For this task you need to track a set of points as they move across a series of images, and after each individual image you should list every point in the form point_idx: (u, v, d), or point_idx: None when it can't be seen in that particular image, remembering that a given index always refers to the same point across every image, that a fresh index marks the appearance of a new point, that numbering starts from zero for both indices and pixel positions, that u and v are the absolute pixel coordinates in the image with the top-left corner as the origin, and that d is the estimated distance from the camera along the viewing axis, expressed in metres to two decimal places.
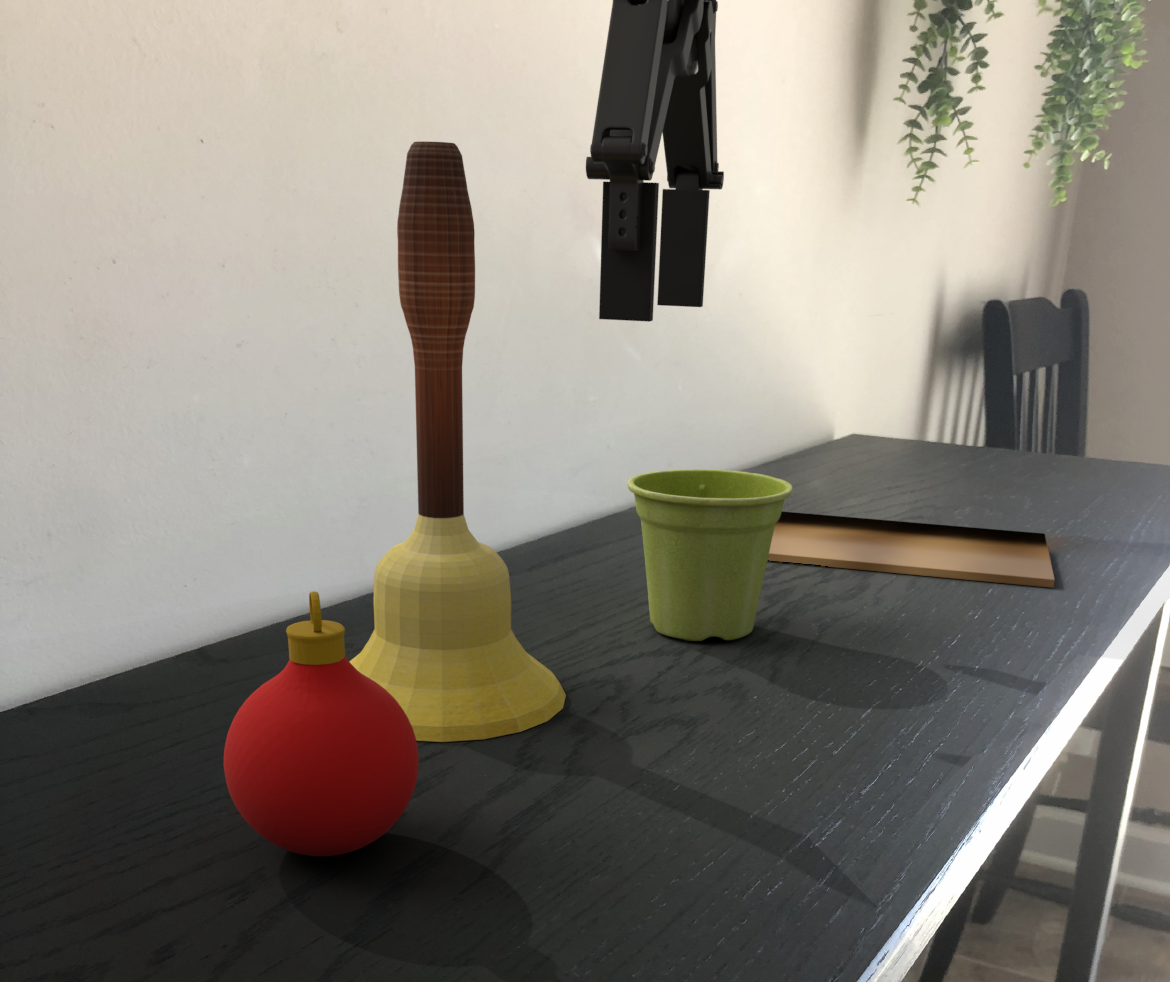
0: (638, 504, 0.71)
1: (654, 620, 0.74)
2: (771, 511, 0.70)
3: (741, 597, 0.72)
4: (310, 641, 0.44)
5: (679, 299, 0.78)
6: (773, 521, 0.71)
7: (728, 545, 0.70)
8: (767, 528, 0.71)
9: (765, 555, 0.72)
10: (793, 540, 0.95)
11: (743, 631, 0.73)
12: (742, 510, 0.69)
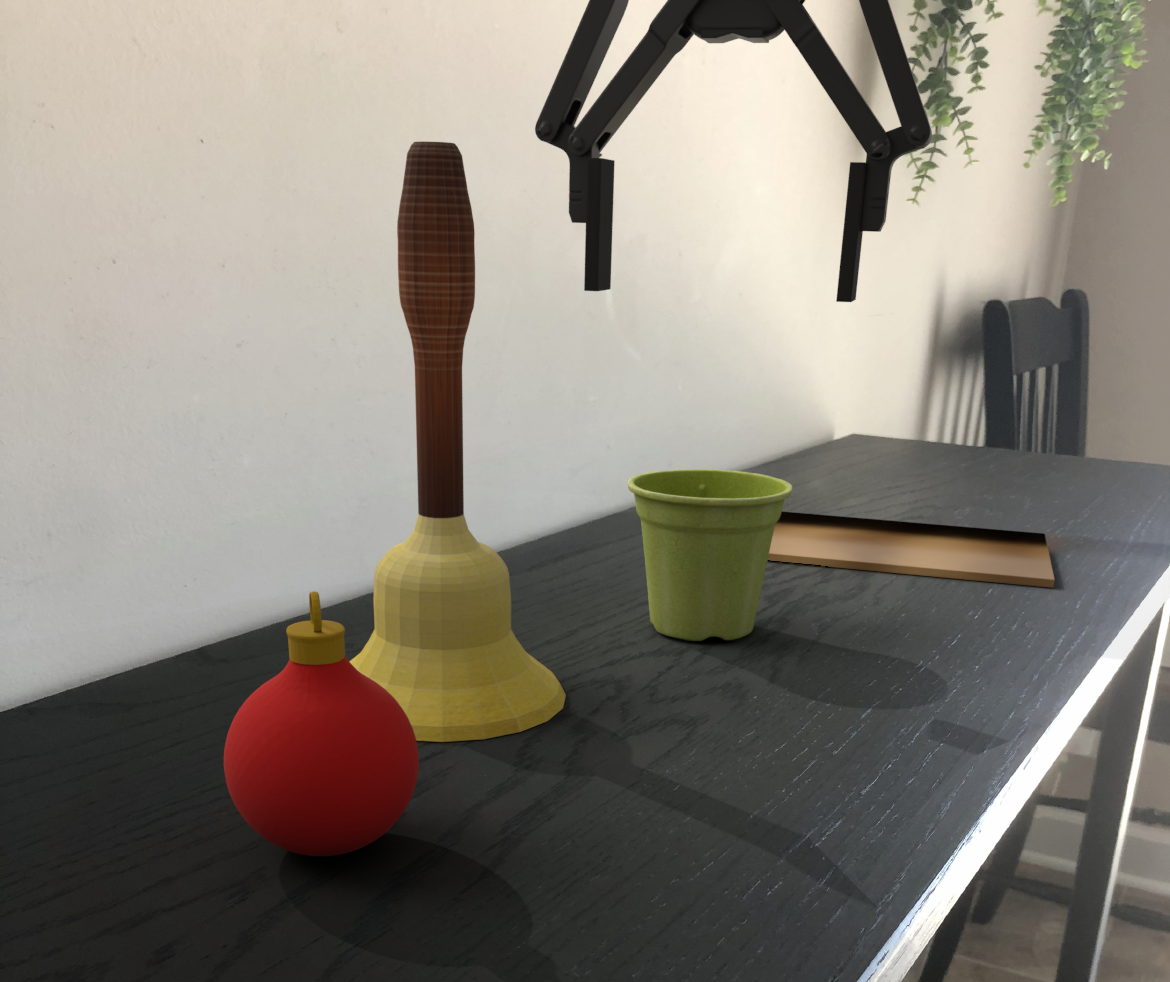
0: (638, 504, 0.71)
1: (654, 620, 0.74)
2: (771, 511, 0.70)
3: (741, 597, 0.72)
4: (310, 641, 0.44)
5: (604, 282, 0.70)
6: (773, 521, 0.71)
7: (728, 545, 0.70)
8: (767, 528, 0.71)
9: (765, 555, 0.72)
10: (793, 540, 0.95)
11: (743, 631, 0.73)
12: (742, 510, 0.69)
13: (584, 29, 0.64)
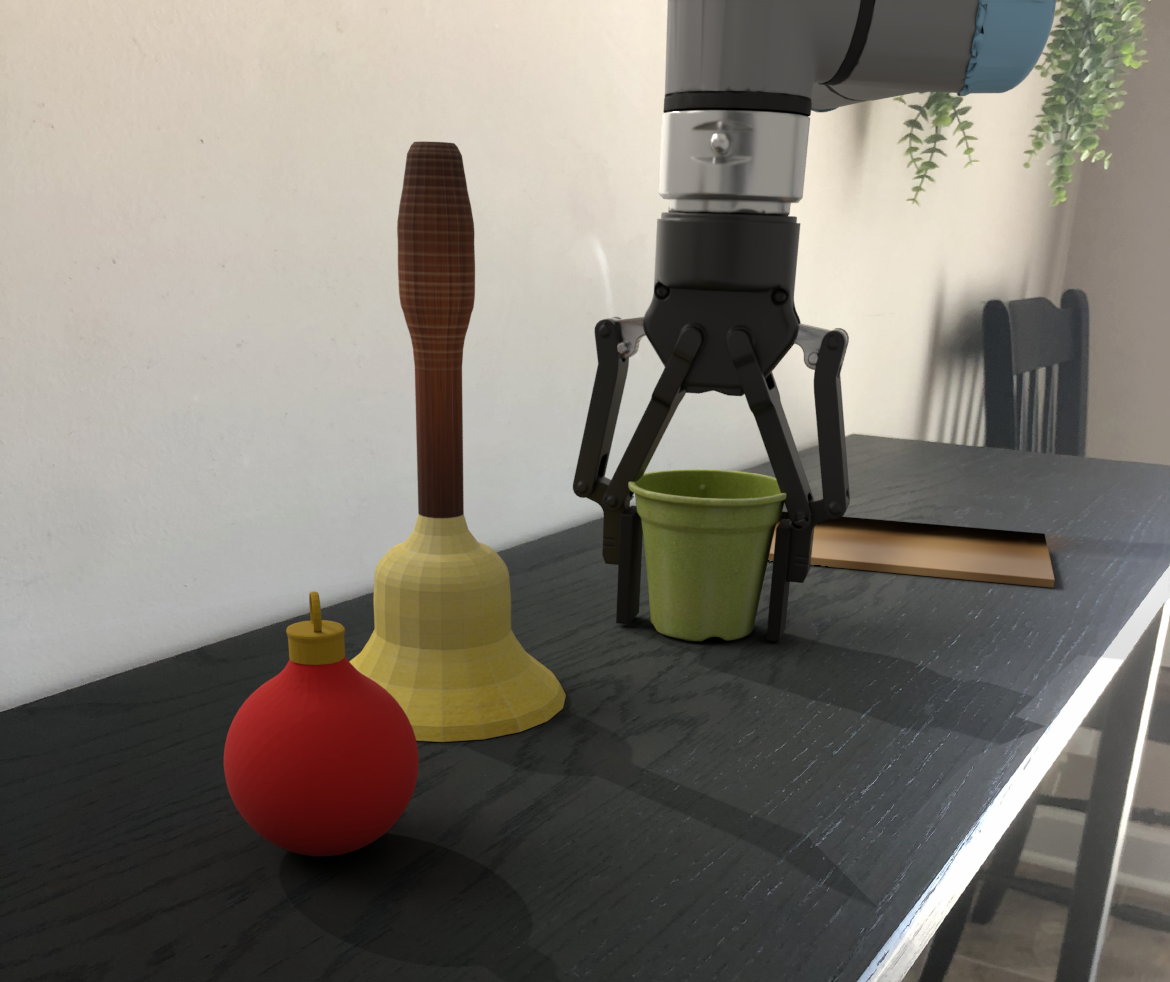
0: (639, 504, 0.71)
1: (654, 620, 0.74)
2: (772, 511, 0.70)
3: (742, 597, 0.72)
4: (310, 641, 0.44)
5: (634, 612, 0.76)
6: (774, 521, 0.71)
7: (729, 545, 0.70)
8: (768, 528, 0.71)
9: (766, 555, 0.72)
10: None
11: (743, 631, 0.73)
12: (743, 511, 0.69)
13: (597, 400, 0.71)
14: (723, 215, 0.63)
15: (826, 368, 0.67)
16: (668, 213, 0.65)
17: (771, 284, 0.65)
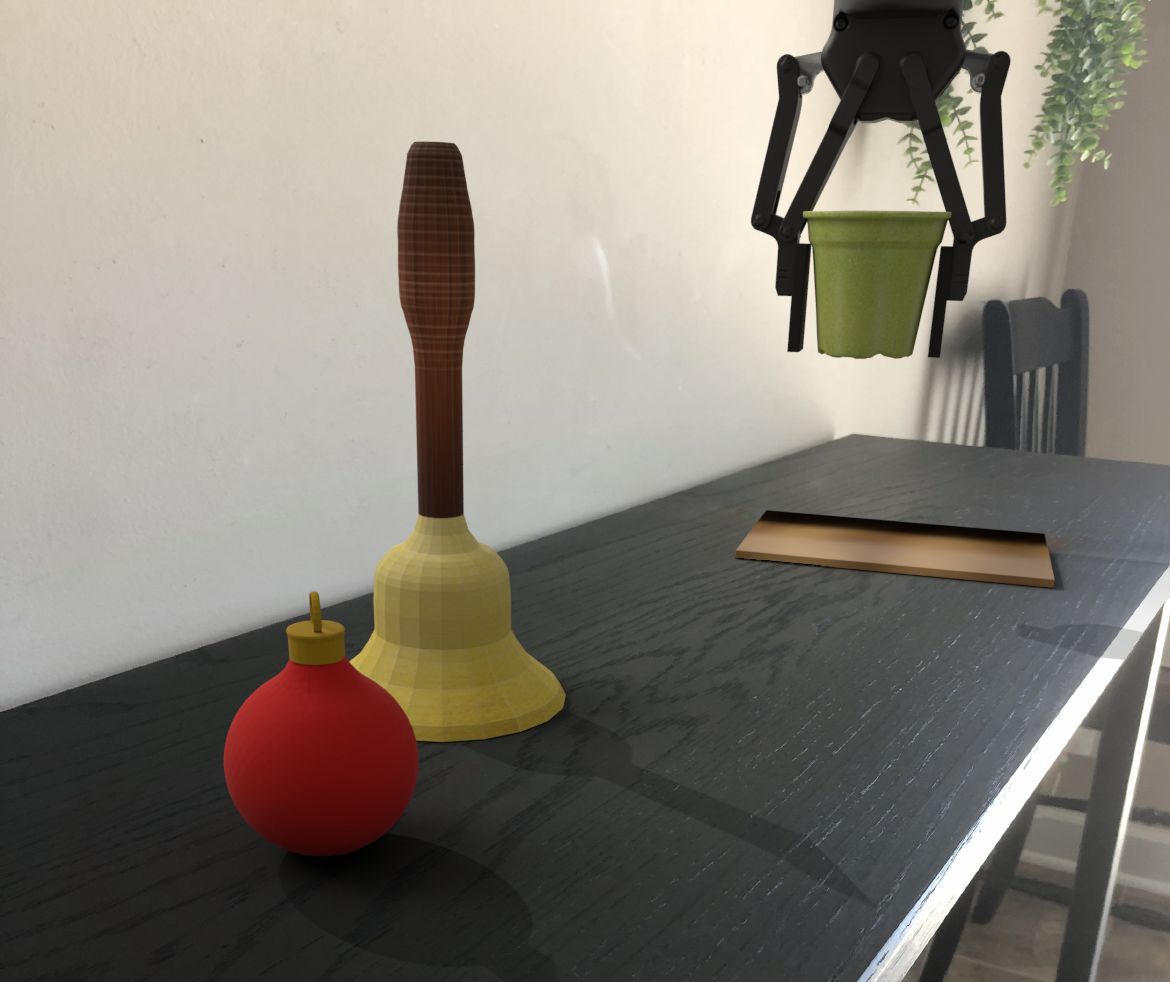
0: (814, 229, 0.79)
1: (824, 344, 0.81)
2: (938, 229, 0.77)
3: (908, 314, 0.79)
4: (310, 641, 0.44)
5: (801, 344, 0.84)
6: (939, 241, 0.78)
7: (900, 260, 0.77)
8: (933, 247, 0.78)
9: (929, 276, 0.80)
10: (793, 540, 0.95)
11: (907, 350, 0.81)
12: (915, 224, 0.76)
13: (776, 133, 0.78)
14: None
15: (992, 87, 0.74)
16: None
17: (946, 5, 0.72)
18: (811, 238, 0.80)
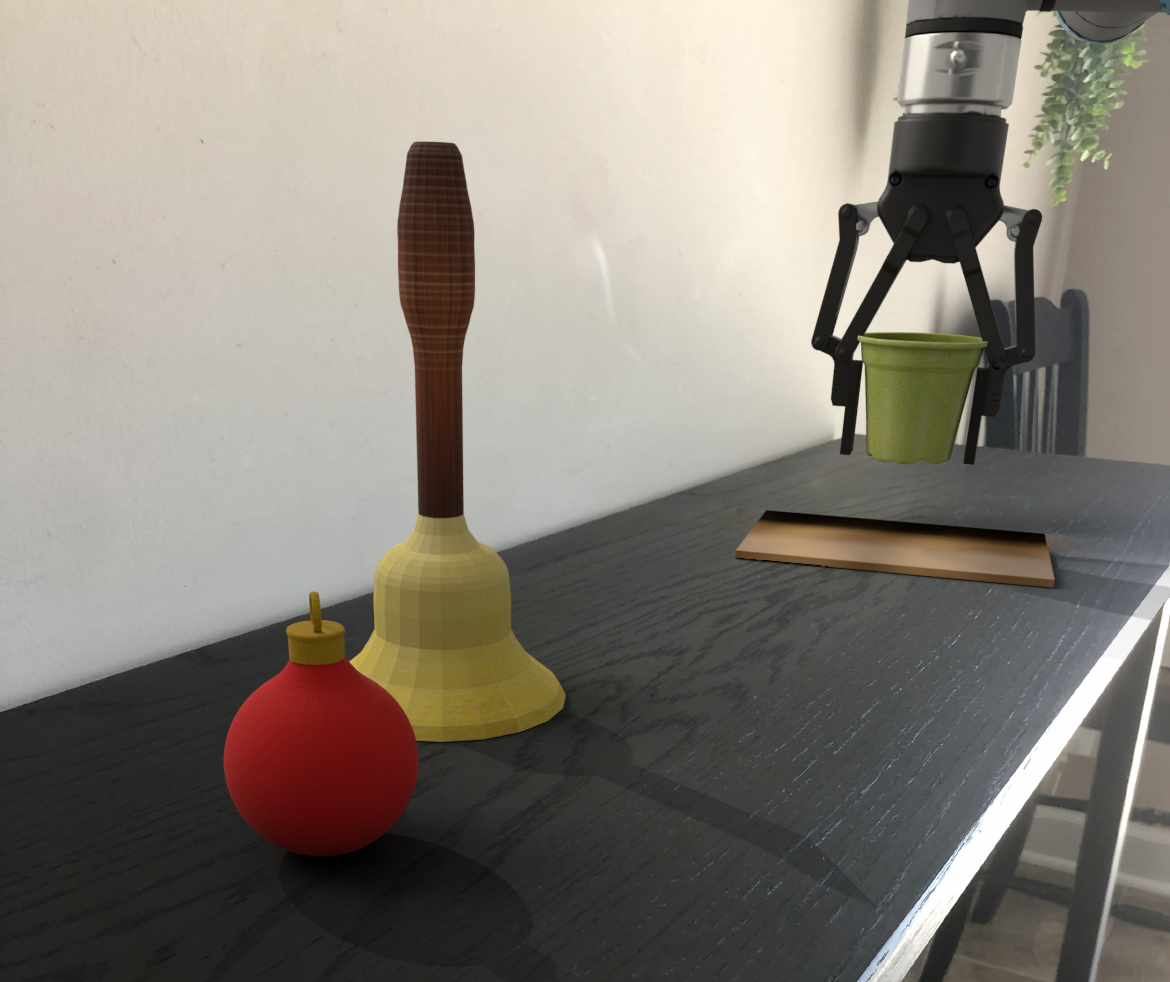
0: (867, 352, 0.90)
1: (873, 449, 0.93)
2: (976, 356, 0.89)
3: (947, 427, 0.91)
4: (310, 641, 0.44)
5: (852, 447, 0.95)
6: (976, 365, 0.90)
7: (942, 382, 0.89)
8: (971, 370, 0.90)
9: (966, 394, 0.91)
10: (793, 540, 0.95)
11: (945, 457, 0.92)
12: (956, 353, 0.88)
13: (836, 269, 0.90)
14: (956, 115, 0.82)
15: (1026, 238, 0.86)
16: (908, 115, 0.84)
17: (988, 170, 0.84)
18: (864, 359, 0.91)
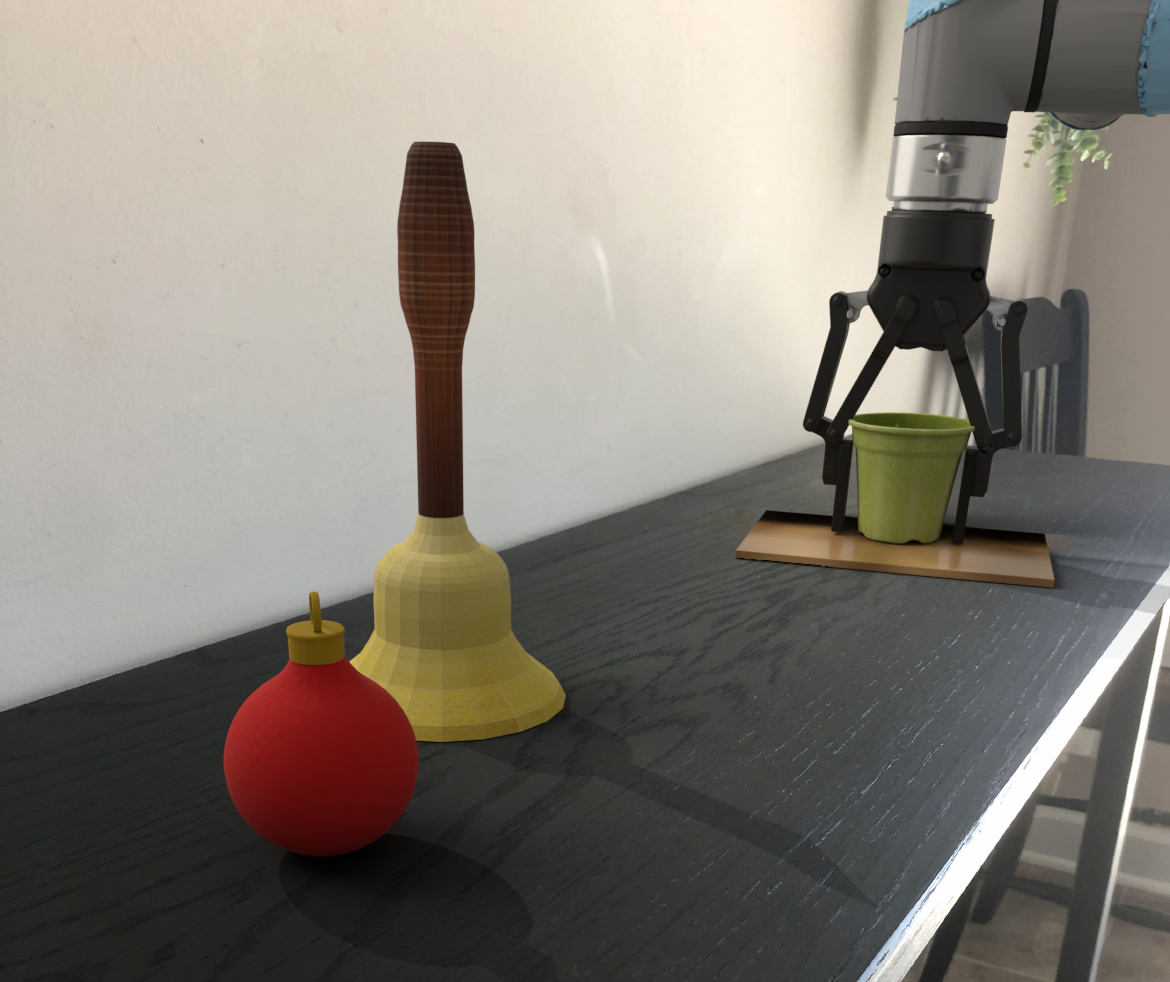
0: (858, 436, 0.93)
1: (864, 528, 0.95)
2: (964, 440, 0.91)
3: (936, 508, 0.93)
4: (310, 641, 0.44)
5: (843, 523, 0.98)
6: (964, 449, 0.92)
7: (931, 466, 0.91)
8: (959, 454, 0.92)
9: (955, 476, 0.93)
10: (793, 540, 0.95)
11: (935, 536, 0.95)
12: (944, 439, 0.90)
13: (827, 355, 0.92)
14: (943, 213, 0.84)
15: (1011, 329, 0.88)
16: (896, 211, 0.86)
17: (974, 265, 0.86)
18: (855, 442, 0.94)
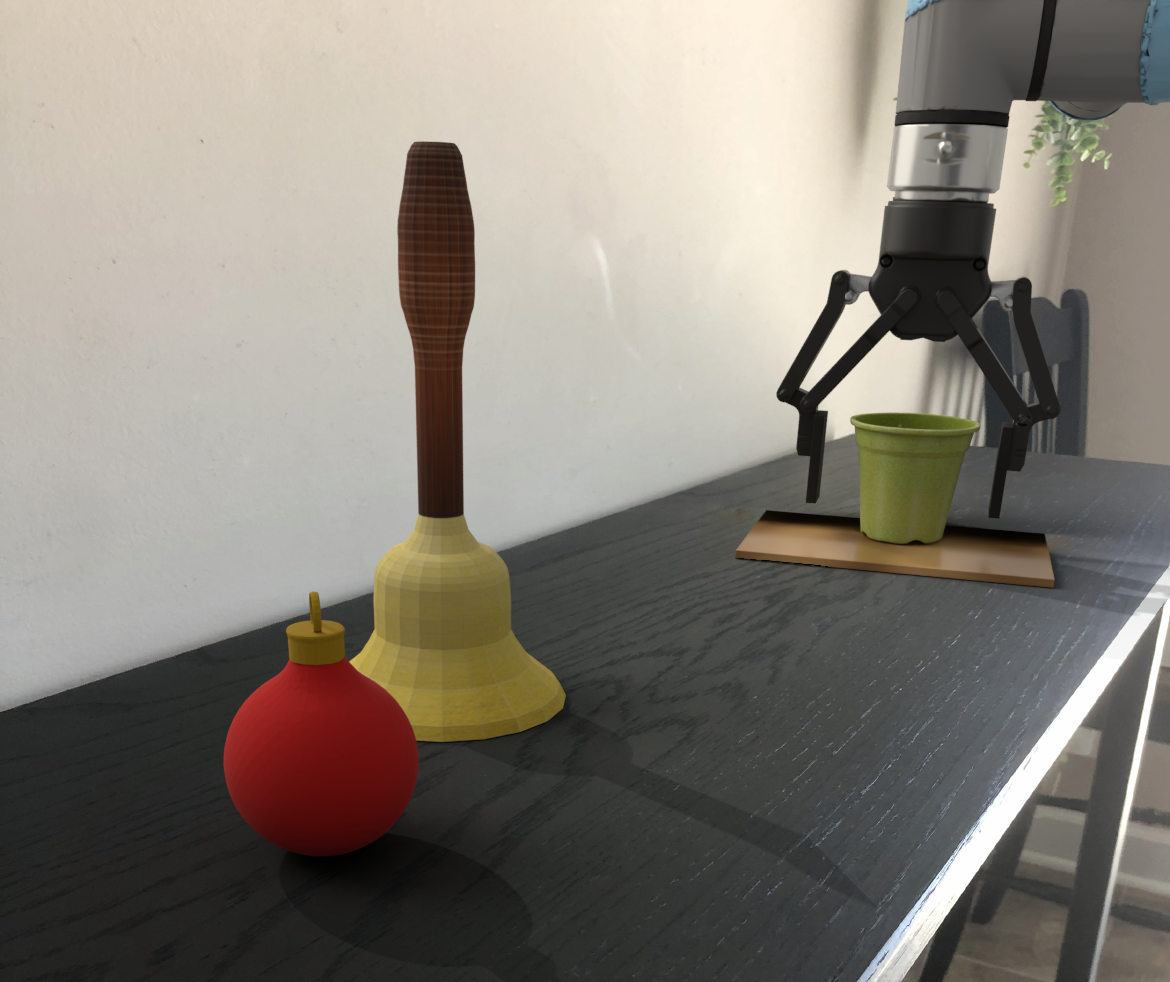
0: (861, 436, 0.93)
1: (867, 528, 0.95)
2: (966, 441, 0.91)
3: (939, 509, 0.93)
4: (310, 641, 0.44)
5: (818, 495, 0.97)
6: (966, 449, 0.92)
7: (934, 467, 0.91)
8: (962, 454, 0.92)
9: (957, 476, 0.93)
10: (793, 540, 0.95)
11: (937, 536, 0.95)
12: (947, 439, 0.90)
13: (816, 330, 0.92)
14: (944, 202, 0.84)
15: (1021, 306, 0.87)
16: (898, 201, 0.86)
17: (976, 255, 0.86)
18: (858, 442, 0.94)
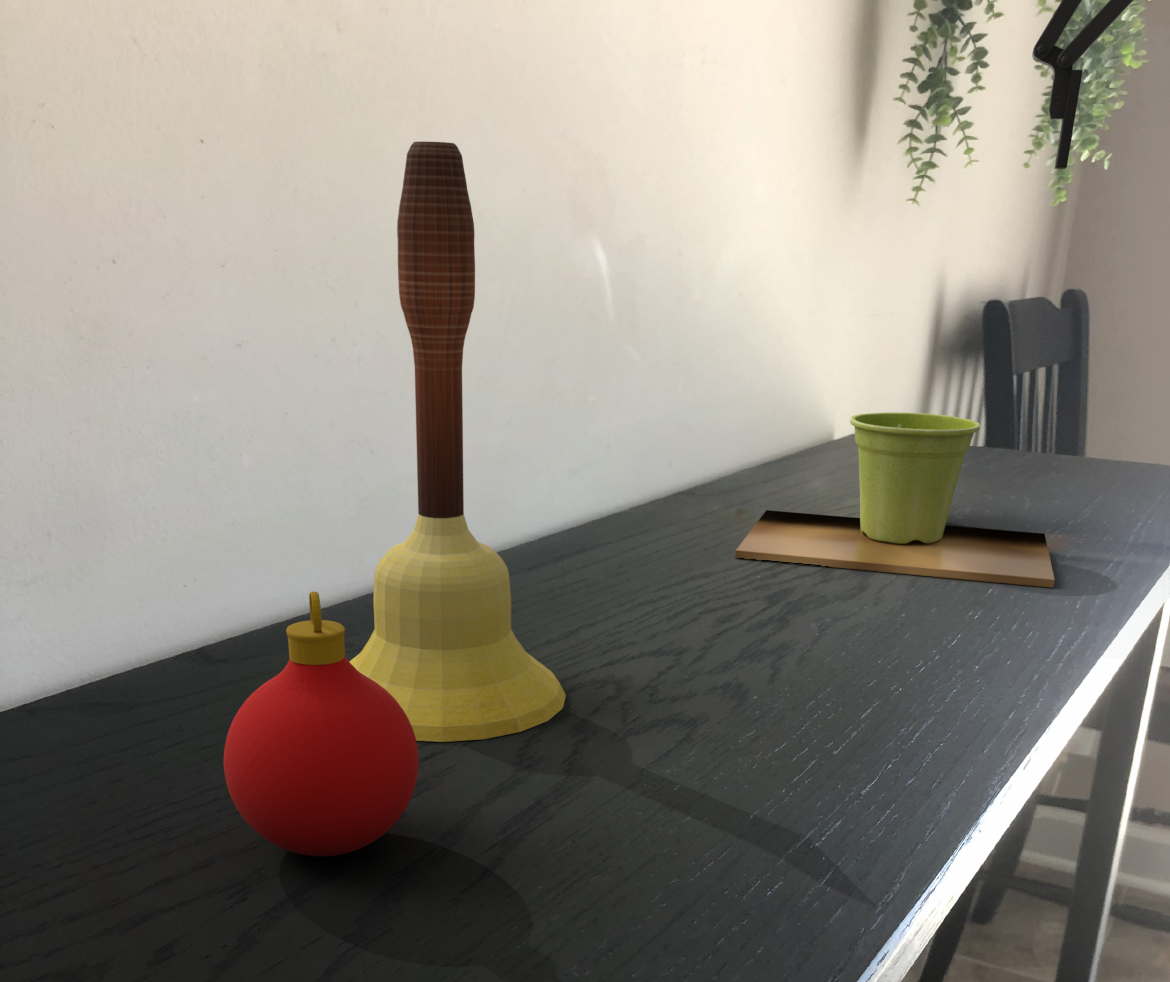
0: (861, 436, 0.93)
1: (867, 528, 0.95)
2: (966, 441, 0.91)
3: (939, 509, 0.93)
4: (310, 641, 0.44)
5: None
6: (966, 449, 0.92)
7: (933, 467, 0.91)
8: (962, 454, 0.92)
9: (957, 476, 0.93)
10: (793, 540, 0.95)
11: (937, 536, 0.95)
12: (947, 439, 0.90)
13: None
14: None
15: None
16: None
17: None
18: (857, 442, 0.94)
